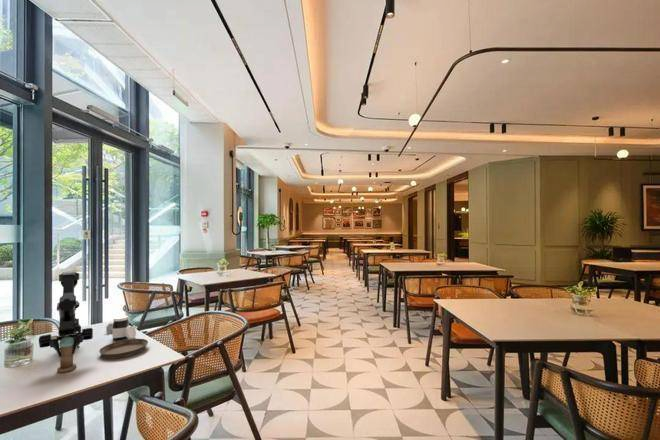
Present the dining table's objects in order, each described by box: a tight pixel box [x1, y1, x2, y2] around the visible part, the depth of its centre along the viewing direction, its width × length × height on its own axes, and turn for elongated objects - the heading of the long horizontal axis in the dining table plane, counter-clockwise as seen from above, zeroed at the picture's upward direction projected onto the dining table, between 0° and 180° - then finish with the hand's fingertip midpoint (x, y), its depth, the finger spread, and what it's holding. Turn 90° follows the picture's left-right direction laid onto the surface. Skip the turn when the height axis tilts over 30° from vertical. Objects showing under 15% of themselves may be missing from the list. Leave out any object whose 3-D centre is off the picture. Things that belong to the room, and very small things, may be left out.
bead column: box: [56, 337, 77, 374], centre depth 146 cm, size 6×6×14 cm
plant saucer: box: [98, 338, 149, 359], centre depth 167 cm, size 21×21×3 cm
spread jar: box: [111, 315, 137, 341], centre depth 188 cm, size 12×11×12 cm
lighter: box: [105, 322, 113, 334], centre depth 200 cm, size 7×2×8 cm, turn 130°
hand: (66, 355), depth 145 cm, fingers closed on bead column, 4 cm apart
